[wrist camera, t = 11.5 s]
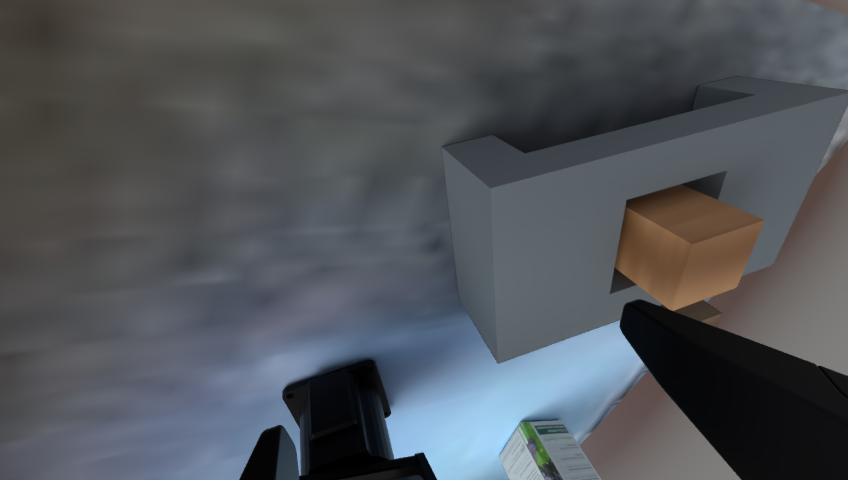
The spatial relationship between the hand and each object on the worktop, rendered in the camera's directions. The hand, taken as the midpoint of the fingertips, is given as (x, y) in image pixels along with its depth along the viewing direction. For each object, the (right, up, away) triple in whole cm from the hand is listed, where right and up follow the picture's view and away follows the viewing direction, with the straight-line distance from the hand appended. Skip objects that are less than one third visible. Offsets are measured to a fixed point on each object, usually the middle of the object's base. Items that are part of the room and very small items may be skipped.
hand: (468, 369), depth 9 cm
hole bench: (+10, +6, +16) cm, 20 cm away
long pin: (+10, +6, +16) cm, 20 cm away
